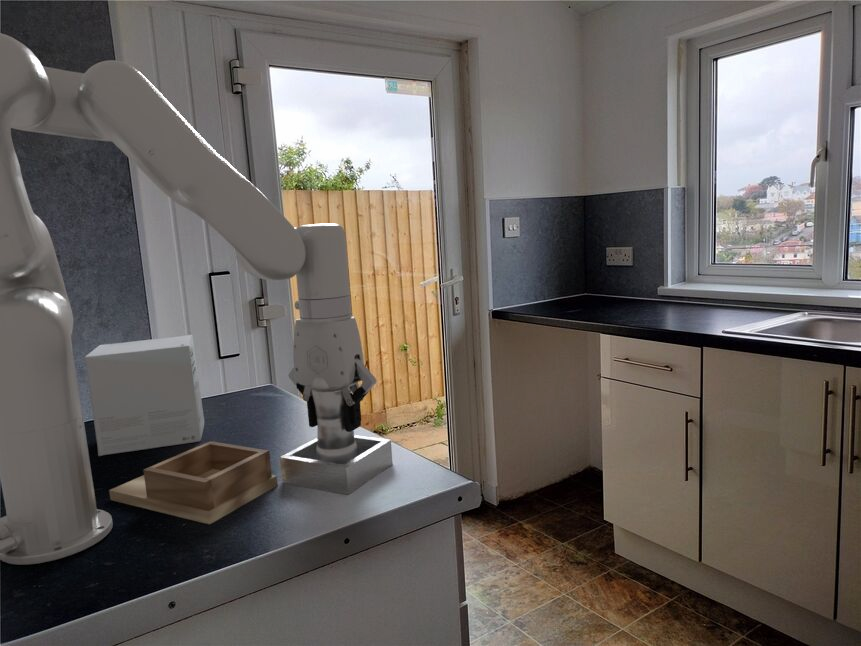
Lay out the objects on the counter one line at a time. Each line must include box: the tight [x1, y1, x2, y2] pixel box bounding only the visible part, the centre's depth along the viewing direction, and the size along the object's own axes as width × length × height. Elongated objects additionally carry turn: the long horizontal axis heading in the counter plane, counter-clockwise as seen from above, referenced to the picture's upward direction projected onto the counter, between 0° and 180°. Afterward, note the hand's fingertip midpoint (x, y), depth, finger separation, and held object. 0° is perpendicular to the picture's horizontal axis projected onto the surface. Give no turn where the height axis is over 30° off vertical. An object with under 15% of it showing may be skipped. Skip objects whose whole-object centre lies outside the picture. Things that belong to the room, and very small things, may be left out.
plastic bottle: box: [311, 378, 359, 464], centre depth 94 cm, size 6×7×20 cm
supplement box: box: [84, 334, 205, 457], centre depth 116 cm, size 17×13×18 cm
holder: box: [279, 434, 394, 496], centre depth 95 cm, size 12×12×4 cm
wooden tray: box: [108, 440, 278, 525], centre depth 91 cm, size 13×20×6 cm, turn 62°
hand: (335, 425), depth 94 cm, fingers closed on plastic bottle, 6 cm apart
